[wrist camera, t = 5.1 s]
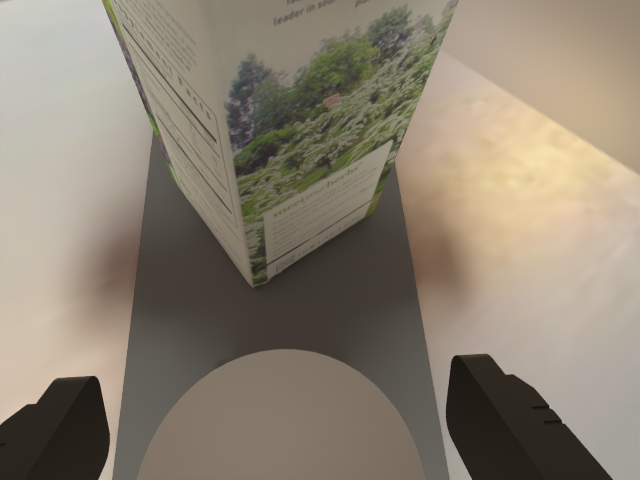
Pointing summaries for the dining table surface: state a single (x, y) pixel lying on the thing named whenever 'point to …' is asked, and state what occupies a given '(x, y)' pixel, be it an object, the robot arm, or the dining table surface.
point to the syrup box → (279, 110)
